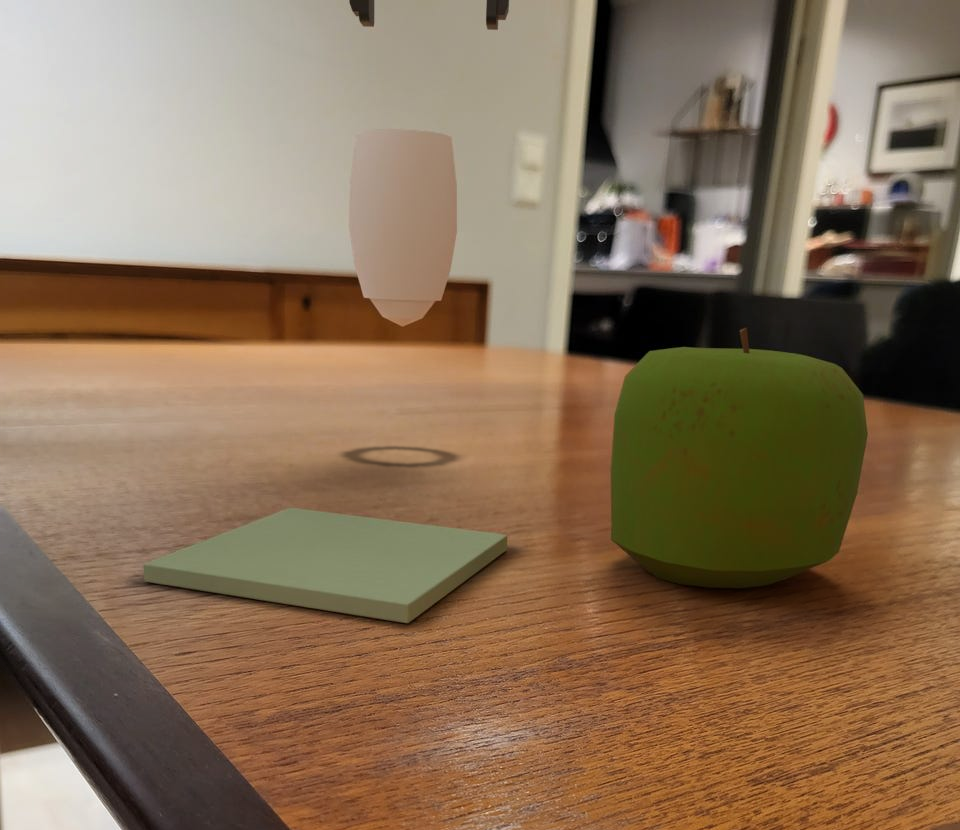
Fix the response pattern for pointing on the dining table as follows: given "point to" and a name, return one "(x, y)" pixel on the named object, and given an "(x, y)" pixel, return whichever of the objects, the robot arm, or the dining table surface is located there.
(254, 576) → the drink mat
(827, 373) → the apple
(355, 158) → the white rounded shell
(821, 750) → the dining table surface
